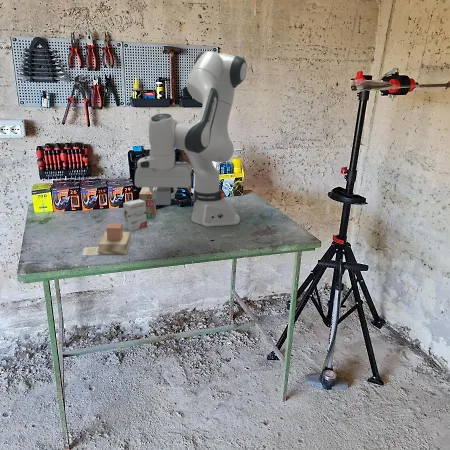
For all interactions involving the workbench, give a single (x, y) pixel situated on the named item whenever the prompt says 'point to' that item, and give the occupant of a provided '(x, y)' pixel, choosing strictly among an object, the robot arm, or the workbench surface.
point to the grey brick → (163, 196)
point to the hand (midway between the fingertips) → (163, 198)
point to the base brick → (115, 244)
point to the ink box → (135, 214)
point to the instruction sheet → (91, 251)
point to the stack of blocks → (148, 201)
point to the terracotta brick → (114, 231)
